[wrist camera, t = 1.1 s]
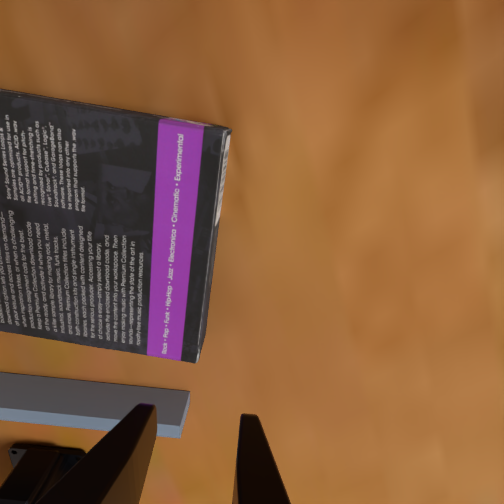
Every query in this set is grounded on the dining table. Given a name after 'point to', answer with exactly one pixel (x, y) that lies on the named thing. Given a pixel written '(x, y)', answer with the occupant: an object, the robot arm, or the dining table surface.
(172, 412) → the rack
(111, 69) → the dining table surface
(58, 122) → the box
